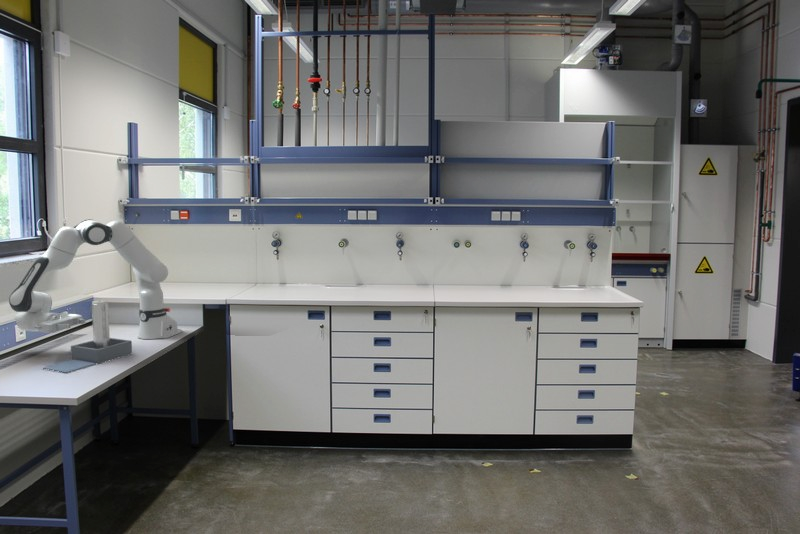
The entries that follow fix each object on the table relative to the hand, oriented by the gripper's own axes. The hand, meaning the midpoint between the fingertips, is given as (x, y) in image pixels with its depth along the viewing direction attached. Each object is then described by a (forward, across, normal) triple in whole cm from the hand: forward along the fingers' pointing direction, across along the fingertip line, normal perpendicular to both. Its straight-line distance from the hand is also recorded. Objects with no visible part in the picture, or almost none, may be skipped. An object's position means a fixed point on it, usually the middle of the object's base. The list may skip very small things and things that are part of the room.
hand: (77, 324), depth 265 cm
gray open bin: (+12, 0, +14) cm, 19 cm away
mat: (+9, -17, +14) cm, 24 cm away
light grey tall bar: (+12, 0, +14) cm, 19 cm away
